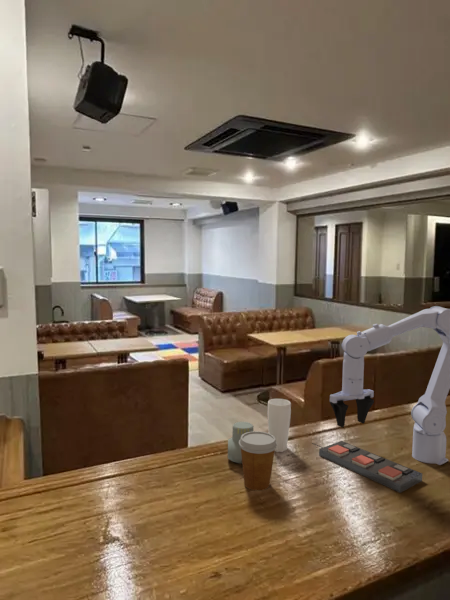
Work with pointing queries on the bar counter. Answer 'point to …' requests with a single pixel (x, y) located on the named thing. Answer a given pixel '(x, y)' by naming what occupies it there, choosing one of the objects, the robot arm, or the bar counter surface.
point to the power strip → (373, 467)
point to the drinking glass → (279, 422)
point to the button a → (338, 450)
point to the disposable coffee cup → (257, 458)
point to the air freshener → (237, 440)
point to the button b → (362, 461)
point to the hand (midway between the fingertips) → (350, 424)
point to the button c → (390, 473)
